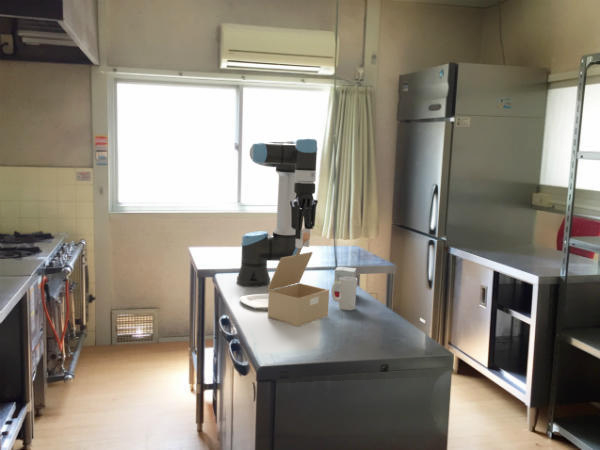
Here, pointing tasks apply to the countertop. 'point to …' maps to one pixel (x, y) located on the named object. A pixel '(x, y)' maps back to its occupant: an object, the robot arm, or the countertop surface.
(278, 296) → the carton
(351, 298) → the mug
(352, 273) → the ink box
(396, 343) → the countertop surface
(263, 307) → the plate
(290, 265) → the flap
